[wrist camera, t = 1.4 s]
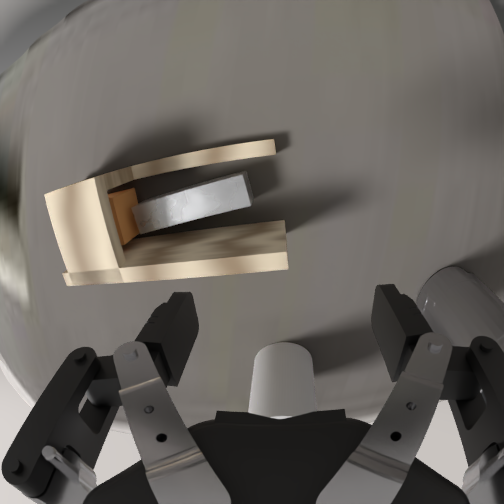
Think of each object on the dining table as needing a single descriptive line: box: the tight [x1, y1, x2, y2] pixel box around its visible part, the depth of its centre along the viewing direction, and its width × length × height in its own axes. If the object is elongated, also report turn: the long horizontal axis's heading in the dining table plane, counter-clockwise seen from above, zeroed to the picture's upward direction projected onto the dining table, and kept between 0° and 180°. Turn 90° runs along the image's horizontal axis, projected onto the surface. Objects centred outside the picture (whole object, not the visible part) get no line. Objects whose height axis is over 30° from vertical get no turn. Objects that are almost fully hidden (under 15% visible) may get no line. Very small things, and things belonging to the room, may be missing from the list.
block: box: [108, 188, 140, 245], centre depth 29 cm, size 5×5×5 cm
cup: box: [248, 342, 317, 419], centre depth 32 cm, size 8×8×12 cm
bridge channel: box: [45, 139, 288, 286], centre depth 26 cm, size 23×10×8 cm, turn 98°
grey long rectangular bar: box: [131, 171, 254, 234], centre depth 28 cm, size 12×3×4 cm, turn 105°
